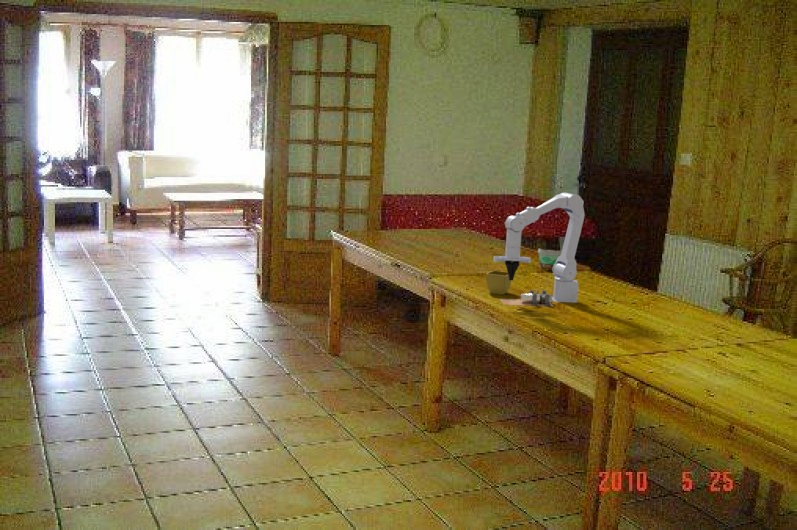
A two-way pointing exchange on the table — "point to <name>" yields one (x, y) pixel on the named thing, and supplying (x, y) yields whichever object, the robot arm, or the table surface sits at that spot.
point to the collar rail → (534, 298)
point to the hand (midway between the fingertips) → (510, 279)
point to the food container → (548, 258)
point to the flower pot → (498, 282)
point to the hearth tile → (517, 302)
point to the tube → (540, 299)
